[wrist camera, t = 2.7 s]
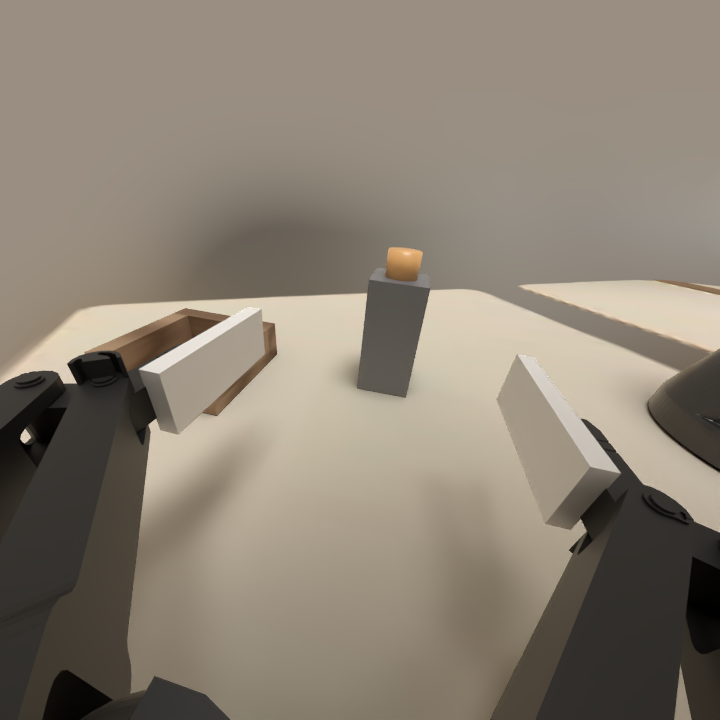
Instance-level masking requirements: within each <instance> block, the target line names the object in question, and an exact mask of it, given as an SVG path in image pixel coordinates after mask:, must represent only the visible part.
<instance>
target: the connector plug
mask: <svg viewBox="0 0 720 720" xmlns="http://www.w3.org/2000/svg"><path fill="white" fill-rule="evenodd" d="M422 254H423V252H421V251H419V250H415V249H408V248H400V247H399V248H398V247H392V248H389V250H388V257H387V265H386V269H383V268H377V269H376V270H375V272H374V273H373V275H372V276H371V277H370V279H369V284H368V293H367V302H366V312H365V321H364V330H363V340H362V349H361V358H360V368H359V377H358V386H357V388H359V389H364V390H369V391H374V392H379V393H384V394H389V395H395V396H400V397H405V398H406V394H407V390H408V385H409V381H410V376H411V372H412V368H413V363H414V359H415V354H416V350H417V345H418V341H419V336H420V332H421V327H422V323H423V319H424V314H425V310H426V305H427V301H428V296H429V292H430V280H429V275H427V274H419V269H420V264H421V259H422Z"/></svg>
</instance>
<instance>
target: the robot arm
mask: <svg viewBox="0 0 720 720" xmlns="http://www.w3.org/2000/svg"><path fill="white" fill-rule="evenodd" d="M264 354H265V347H264V335H263V323H262V311H261V309H258V308H252V307H247V308H245V309H243V310H242V311H240V312H238V313H236V314H235V315H233V316H231V317H229V318H228V319H226V320H224V321H222V322H221V323H219V324H217V325H215V326H213V327H212V328H210V329H208V330H206V331H205V332H203V333H201V334H199V335H198V336H196V337H194V338H192V339H191V340H189V341H187V342H185V343H182V344H179V345H176V346H173V347H172V348H170V349H168V350H166V351H164V353H161V354H159V355H157V356H156V358H152V359H150V360H148V361H147V362H145V363H143V364H141V365H139V366H138V367H136V368H134V369H132V370H130V371H129V372H127V369H126V367H125V364H124V361H123V359H122V356H121V354H120V353H118V352H116V351H109V350H108V351H96V352H90V353H87V354H84V355H80V356H78V357H76V358H74V359H72V360H71V361H70V362H69V363H68V364H67V365H68V366H69V368H70V370H71V372H72V374H73V376H74V378H75V380H76V382H77V384H63V382H62V380H61V378H60V376H59V375H58V373H56V372H53V371H38V372H36V371H34V372H29V373H25V374H21V375H20V376H17V377H15V378H12V379H10V380H8V381H6V382H5V383H3V384H2V385H0V720H230V719H229V718H228V717H227V716H226V715H225V714H224V713H223V712H222V711H221V710H220V709H219V708H218V707H217V706H216V705H215V704H214V703H213V702H212V701H211V700H210V699H209V698H208V697H207V696H206V695H205V694H202V693H200V692H197V691H194V690H191V689H189V688H186V687H183V686H180V685H178V684H175V683H172V682H169V681H166V680H164V679H161V678H158V677H155V676H154V678H153V680H152V682H151V683H150V685H149V687H148V689H147V690H145V691H140V692H136V693H132V694H130V691H131V664H130V659H129V654H128V649H127V633H128V624H129V616H130V607H131V598H132V589H133V581H134V572H135V563H136V555H137V546H138V537H139V528H140V520H141V511H142V502H143V494H144V485H145V476H146V467H147V459H148V450H149V441H150V433H151V432H150V428H149V426H148V424H150V423H151V422H152V421H153V420H155V419H157V422H158V425H159V427H160V430H162V431H166V432H170V433H174V434H178V435H179V434H180V433H181V432H182V431H183V430H184V429H185V428H186V427H187V426H188V425H189V424H190V423H191V422H193V421H194V420H195V419H196V418H197V417H198V416H199V415H200V414H201V413H202V412H203V411H204V410H205V409H206V408H208V407H209V406H210V405H211V404H212V403H213V402H214V401H215V400H216V399H217V398H218V397H219V396H220V395H221V394H223V393H224V392H225V391H226V390H227V389H228V388H229V387H230V386H231V385H232V384H233V383H234V382H235V381H237V380H238V379H239V378H240V377H241V376H242V375H243V374H244V373H245V372H246V371H247V370H248V369H249V368H250V367H252V366H253V365H254V364H255V363H256V362H257V361H258V360H259V359H260V358H261V357H262V356H263V355H264ZM497 402H498V404H499V407H500V409H501V412H502V414H503V417H504V420H505V422H506V425H507V427H508V430H509V432H510V435H511V437H512V440H513V443H514V445H515V448H516V450H517V453H518V455H519V458H520V460H521V463H522V466H523V468H524V471H525V473H526V476H527V478H528V481H529V484H530V486H531V489H532V491H533V494H534V496H535V499H536V501H537V504H538V507H539V509H540V512H541V514H542V517H543V519H544V522H545V524H549V525H553V526H557V527H561V528H565V529H570V530H571V529H572V528H573V526H574V525H575V524H576V523H577V522H578V521H579V520H580V519H581V520H582V522H583V524H584V526H585V528H586V530H587V532H586V533H585V534H584V535H583V536H582V537H581V538H580V539H579V540H578V541H577V542H576V543H575V544H574V545H573V546H572V547H571V548H570V550H569V551H570V552H572V553H573V555H572V557H571V559H570V561H569V563H568V565H567V567H566V569H565V571H564V573H563V575H562V577H561V579H560V581H559V583H558V585H557V587H556V589H555V591H554V593H553V595H552V597H551V599H550V601H549V603H548V605H547V607H546V609H545V611H544V613H543V615H542V617H541V619H540V621H539V623H538V625H537V627H536V629H535V631H534V633H533V635H532V637H531V639H530V641H529V643H528V645H527V647H526V649H525V651H524V653H523V655H522V657H521V659H520V661H519V663H518V665H517V667H516V669H515V671H514V673H513V675H512V677H511V679H510V681H509V683H508V685H507V687H506V689H505V691H504V693H503V695H502V697H501V699H500V701H499V703H498V705H497V707H496V709H495V711H494V713H493V715H492V717H491V719H490V720H674V715H675V706H676V697H677V688H678V679H679V670H680V664H681V669H682V674H683V679H684V684H685V689H686V694H687V699H688V704H689V708H690V713H691V718H692V720H720V533H719V532H717V531H714V530H712V529H710V528H707V527H705V526H703V525H700V524H698V523H696V522H694V520H693V518H692V517H691V516H690V514H689V513H688V512H687V511H686V510H685V509H684V508H683V507H682V506H681V505H680V504H679V503H677V502H676V501H675V500H673V499H672V498H670V497H669V496H667V495H666V494H664V493H663V492H661V491H658V490H656V489H654V488H652V487H649V486H646V485H643V484H642V483H641V481H640V480H639V479H638V478H637V476H636V475H635V474H634V473H633V471H632V470H631V469H630V468H629V466H628V465H627V464H626V463H625V461H624V460H623V459H622V458H621V456H620V455H619V454H618V453H616V450H615V449H614V448H613V446H612V445H611V444H609V443H608V442H609V441H608V440H607V439H606V438H605V436H604V435H603V434H602V433H601V431H600V430H599V429H597V428H596V427H595V426H594V425H592V424H591V423H590V422H589V421H587V420H585V419H580V418H579V417H578V415H577V414H576V413H575V411H574V410H573V409H572V407H571V406H570V405H569V403H568V402H567V401H566V399H565V398H564V397H563V395H562V394H561V393H560V391H559V390H558V389H557V387H556V386H555V385H554V383H553V382H552V381H551V379H550V378H549V377H548V375H547V374H546V373H545V371H544V370H543V369H542V367H541V366H540V365H539V363H538V362H537V361H536V359H535V358H534V357H531V356H525V355H520V354H517V355H516V357H515V360H514V362H513V364H512V366H511V369H510V371H509V373H508V375H507V377H506V380H505V382H504V384H503V386H502V388H501V391H500V393H499V395H498V397H497ZM648 406H649V410H650V412H651V414H652V415H653V417H654V418H655V419H656V421H657V422H658V423H659V424H660V425H661V426H662V427H663V428H664V429H665V430H666V431H667V432H668V433H669V434H670V435H671V436H673V437H674V438H675V439H676V440H678V441H679V442H680V443H681V444H683V445H684V446H685V447H687V448H688V449H689V450H691V451H692V452H694V453H695V454H697V455H698V456H700V457H701V458H703V459H704V460H706V461H707V462H709V463H710V464H712V465H713V466H715V467H717V468H718V469H720V349H718V350H717V351H715V352H713V353H712V354H710V355H708V356H707V357H705V358H703V359H702V360H700V361H698V362H697V363H695V364H693V365H692V366H690V367H688V368H687V369H685V370H684V371H682V372H680V373H678V374H677V375H675V376H673V377H672V378H670V379H668V380H667V381H666V382H664V383H663V384H662V385H661V386H660V388H659V389H658V390H657V391H656V393H655V394H654V395H653V396H652V398H651V399H650V400H649V403H648ZM24 429H26V430H27V431H28V433H29V434H30V436H31V438H30V439H29V440H28V442H26V443H25V444H24V443H23V442H22V441H21V440H20V437H21V434H22V432H23V431H24Z"/></svg>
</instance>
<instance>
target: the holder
mask: <svg viewBox="0 0 720 720" xmlns="http://www.w3.org/2000/svg"><path fill="white" fill-rule="evenodd" d="M229 317H231V316H227V315H221V314H215V313H210V312H204V311H198V310H192V309H186V308H185V309H183V310H180V311H178V312H176V313H173V314H171V315H169V316H167V317H164V318H162V319H160V320H157V321H155V322H153V323H151V324H148V325H146V326H144V327H141V328H139V329H137V330H134V331H132V332H130V333H128V334H125V335H123V336H121V337H118V338H116V339H114V340H112V341H109V342H107V343H105V344H102V345H100V346H98V347H96V348H93V349H91V350H89V351H86V352H85V354H87V353H90V352H96V351H108V350H109V351H116V352H118V353H120V354H121V356H122V359H123V361H124V364H125V367H126V369H127V372H129V371H130V370H132V369H134V368H136V367H138V366H139V365H141V364H143V363H145V362H147V361H148V360H150V359H152V358H156V356H157V355H159V354H161V353H164V351H166V350H168V349H170V348H172V347H173V346H176V345H179V344H182V343H185V342H187V341H189V340H191V339H192V338H194V337H196V336H198V335H199V334H201V333H203V332H205V331H206V330H208V329H210V328H212V327H213V326H215V325H217V324H219V323H221V322H222V321H224V320H226V319H228V318H229ZM262 323H263V335H264V347H265V354H264V355H263V356H262V357H261V358H260V359H259V360H258V361H257V362H256V363H255V364H254V365H253V366H252V367H250V368H249V369H248V370H247V371H246V372H245V373H244V374H243V375H242V376H241V377H240V378H239V379H238V380H237V381H235V382H234V383H233V384H232V385H231V386H230V387H229V388H228V389H227V390H226V391H225V392H224V393H223V394H221V395H220V396H219V397H218V398H217V399H216V400H215V401H214V402H213V403H212V404H211V405H210V406H209V407H208V408H206V409H205V410H204V411H203V413H208V414H212V415H218V414H219V413H220V412H221V411H222V410H223V409H224V408H225V407H226V406H227V405H228V404H229V403H230V402H231V401H232V399H233V398H234V397H235V396H236V395H237V394H238V393H239V392H240V391H241V390H242V389H243V388H244V387H245V386H246V385H247V384H248V383H249V382H250V381H251V380H252V379H253V378H254V377H255V376H256V375H257V374H258V373H259V372H260V371H261V370H262V369H263V368H264V367H265V366H266V365H267V364H268V363H269V362H270V361H271V359H272V358H273V357H274V356H275V355H276V354H277V348H276V334H275V324H274V323H268V322H262Z"/></svg>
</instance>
